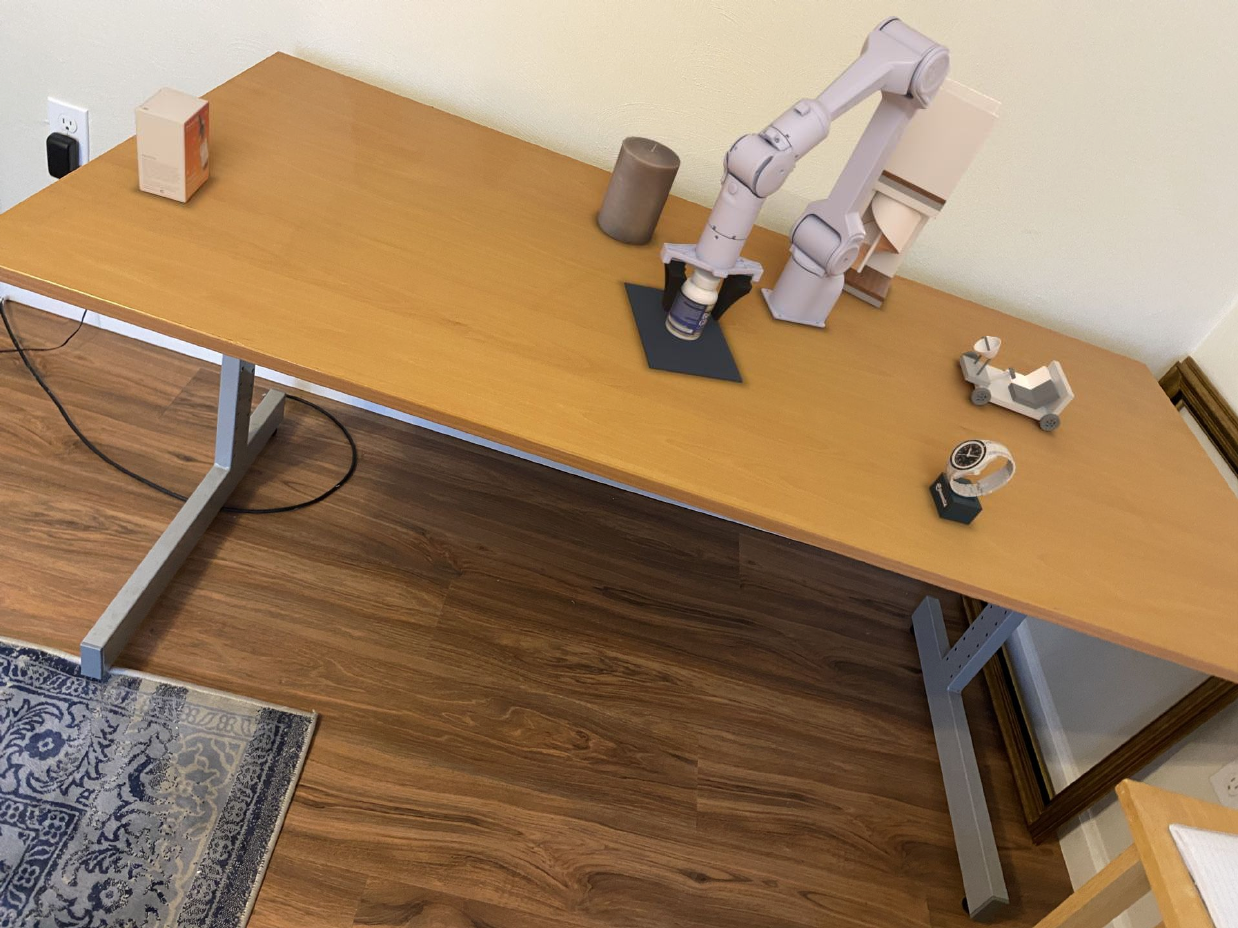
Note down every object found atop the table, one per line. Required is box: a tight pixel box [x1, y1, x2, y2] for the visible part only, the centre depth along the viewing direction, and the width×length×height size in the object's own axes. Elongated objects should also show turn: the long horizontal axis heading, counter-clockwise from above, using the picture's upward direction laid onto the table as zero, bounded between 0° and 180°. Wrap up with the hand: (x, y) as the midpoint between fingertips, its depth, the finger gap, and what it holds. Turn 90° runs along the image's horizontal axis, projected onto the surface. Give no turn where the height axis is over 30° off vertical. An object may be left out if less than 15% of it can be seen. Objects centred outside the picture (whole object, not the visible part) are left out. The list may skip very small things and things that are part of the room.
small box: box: [134, 86, 210, 203], centre depth 104 cm, size 8×6×10 cm
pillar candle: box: [597, 135, 681, 246], centre depth 134 cm, size 10×10×15 cm
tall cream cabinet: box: [842, 76, 1002, 309], centre depth 142 cm, size 11×11×35 cm
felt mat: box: [624, 281, 744, 384], centre depth 121 cm, size 14×20×1 cm
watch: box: [928, 438, 1017, 526], centre depth 108 cm, size 6×8×11 cm
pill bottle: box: [666, 267, 722, 340], centre depth 118 cm, size 5×5×10 cm
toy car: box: [959, 335, 1075, 432], centre depth 136 cm, size 18×10×12 cm
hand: (689, 312), depth 119 cm, fingers open, 7 cm apart
